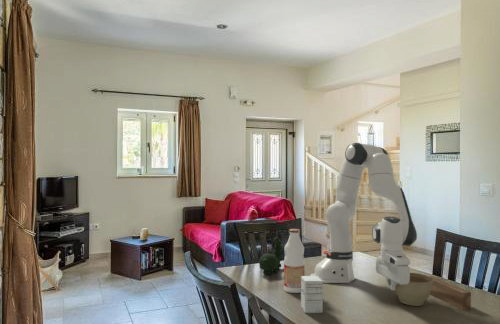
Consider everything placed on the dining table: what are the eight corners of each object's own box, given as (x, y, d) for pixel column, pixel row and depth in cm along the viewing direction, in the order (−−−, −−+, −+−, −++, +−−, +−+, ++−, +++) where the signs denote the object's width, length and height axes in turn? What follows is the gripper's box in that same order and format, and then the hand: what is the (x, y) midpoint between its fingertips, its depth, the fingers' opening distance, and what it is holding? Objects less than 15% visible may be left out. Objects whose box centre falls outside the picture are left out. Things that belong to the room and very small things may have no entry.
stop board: (462, 310, 161) (462, 292, 161) (424, 291, 184) (424, 276, 184) (470, 309, 162) (470, 292, 162) (431, 291, 185) (432, 276, 185)
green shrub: (270, 269, 228) (253, 276, 205) (271, 235, 230) (255, 239, 207) (286, 271, 224) (271, 278, 201) (287, 237, 226) (272, 240, 203)
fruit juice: (293, 294, 178) (293, 231, 178) (279, 289, 186) (280, 229, 186) (308, 291, 184) (309, 230, 184) (294, 286, 191) (295, 227, 192)
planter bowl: (429, 312, 159) (429, 284, 159) (387, 304, 167) (387, 278, 167) (435, 300, 172) (435, 275, 172) (396, 294, 181) (396, 269, 181)
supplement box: (300, 306, 164) (300, 275, 164) (318, 306, 164) (318, 275, 164) (304, 313, 156) (304, 280, 156) (323, 312, 157) (323, 280, 157)
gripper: (372, 251, 177) (372, 282, 177) (398, 262, 157) (398, 297, 157) (385, 250, 179) (385, 281, 178) (412, 261, 159) (412, 296, 158)
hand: (391, 289), depth 168 cm, fingers closed
